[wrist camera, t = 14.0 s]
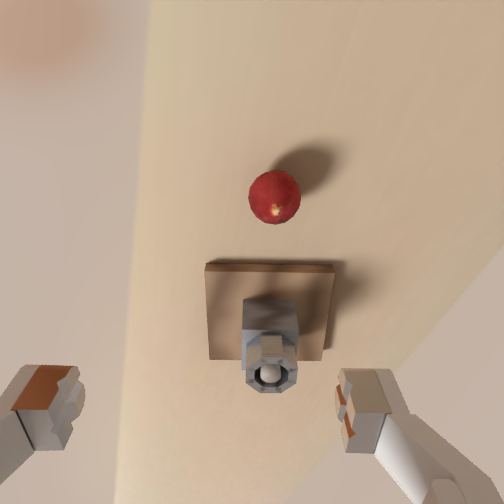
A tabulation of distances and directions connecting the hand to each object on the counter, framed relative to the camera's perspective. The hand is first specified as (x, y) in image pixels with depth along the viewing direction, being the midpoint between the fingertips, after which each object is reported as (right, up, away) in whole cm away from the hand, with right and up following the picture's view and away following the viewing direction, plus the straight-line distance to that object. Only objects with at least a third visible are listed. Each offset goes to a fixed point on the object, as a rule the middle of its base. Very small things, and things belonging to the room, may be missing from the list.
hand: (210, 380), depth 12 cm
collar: (+4, -9, +35) cm, 36 cm away
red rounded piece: (+4, +12, +33) cm, 35 cm away
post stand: (+4, -5, +42) cm, 42 cm away
